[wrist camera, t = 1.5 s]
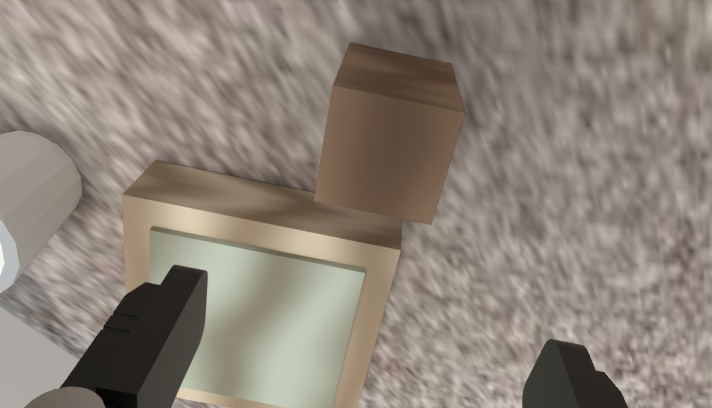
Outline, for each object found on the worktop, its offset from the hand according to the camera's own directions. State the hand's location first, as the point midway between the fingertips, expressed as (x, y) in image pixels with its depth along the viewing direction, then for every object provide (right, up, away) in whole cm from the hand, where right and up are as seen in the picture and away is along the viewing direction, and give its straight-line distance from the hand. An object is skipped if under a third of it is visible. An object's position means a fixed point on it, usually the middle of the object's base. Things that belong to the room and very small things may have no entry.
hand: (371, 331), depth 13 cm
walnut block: (+1, +8, +15) cm, 17 cm away
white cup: (-19, +5, +19) cm, 27 cm away
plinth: (-6, -2, +21) cm, 22 cm away
